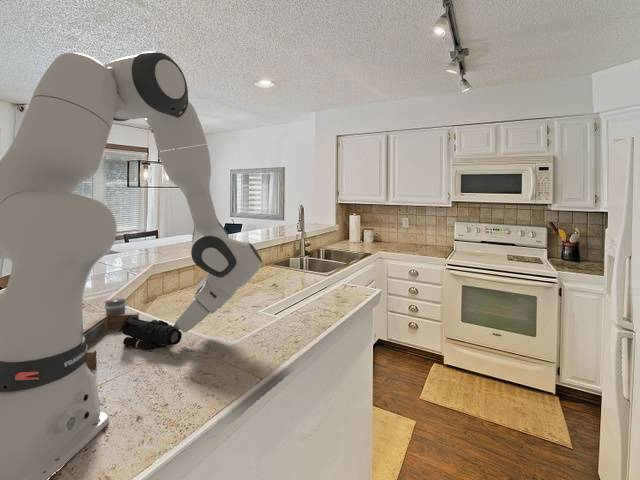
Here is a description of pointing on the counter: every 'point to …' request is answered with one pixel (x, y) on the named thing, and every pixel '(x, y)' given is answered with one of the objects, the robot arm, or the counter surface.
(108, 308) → the gray domed cylinder
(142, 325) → the night vision scope
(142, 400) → the counter surface
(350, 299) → the counter surface
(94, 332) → the bracket
